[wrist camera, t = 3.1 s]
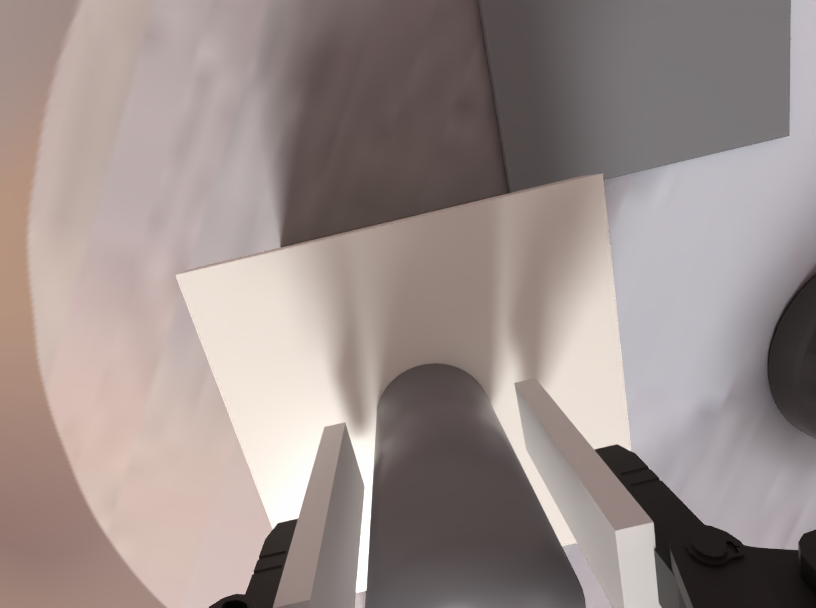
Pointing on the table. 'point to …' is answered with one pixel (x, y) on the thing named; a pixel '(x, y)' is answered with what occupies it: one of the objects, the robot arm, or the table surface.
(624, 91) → the mat
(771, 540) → the table surface
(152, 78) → the table surface
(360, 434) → the lid
